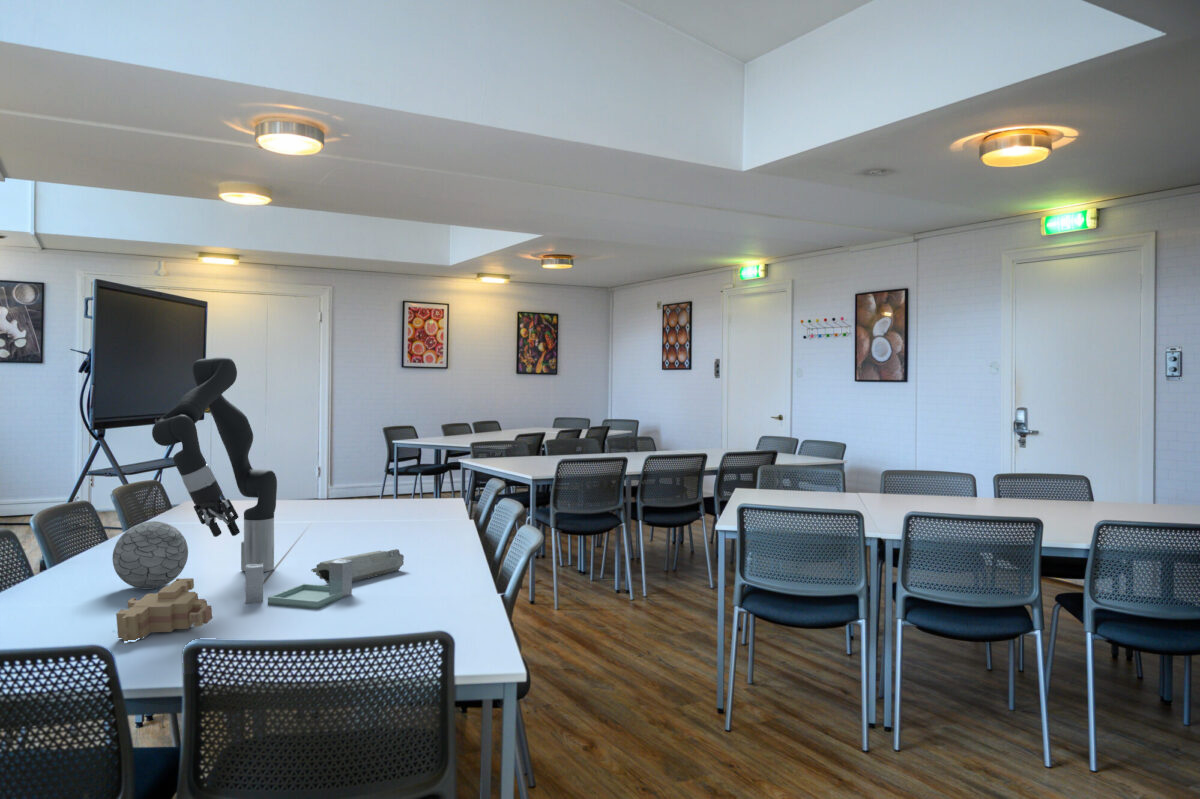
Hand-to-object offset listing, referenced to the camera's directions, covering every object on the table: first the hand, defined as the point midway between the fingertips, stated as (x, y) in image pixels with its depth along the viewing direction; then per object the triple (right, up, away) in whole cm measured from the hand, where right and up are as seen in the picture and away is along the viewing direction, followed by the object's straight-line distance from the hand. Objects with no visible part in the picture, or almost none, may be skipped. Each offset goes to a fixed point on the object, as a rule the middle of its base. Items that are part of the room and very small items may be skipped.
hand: (227, 534), depth 224 cm
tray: (+22, -19, +5) cm, 29 cm away
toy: (-2, -20, -26) cm, 33 cm away
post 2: (+29, -19, +9) cm, 36 cm away
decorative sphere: (-30, -19, +16) cm, 39 cm away
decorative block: (+28, -19, +30) cm, 46 cm away
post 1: (+7, -19, +3) cm, 20 cm away
